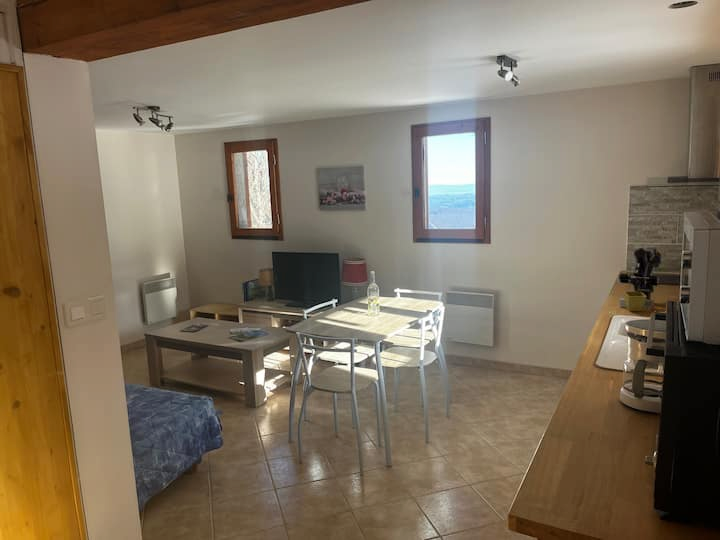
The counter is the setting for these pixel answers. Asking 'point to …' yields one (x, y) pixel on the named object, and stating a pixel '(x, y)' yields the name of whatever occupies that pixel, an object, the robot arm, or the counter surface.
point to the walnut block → (649, 304)
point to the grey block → (622, 303)
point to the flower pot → (634, 300)
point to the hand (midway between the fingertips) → (635, 291)
